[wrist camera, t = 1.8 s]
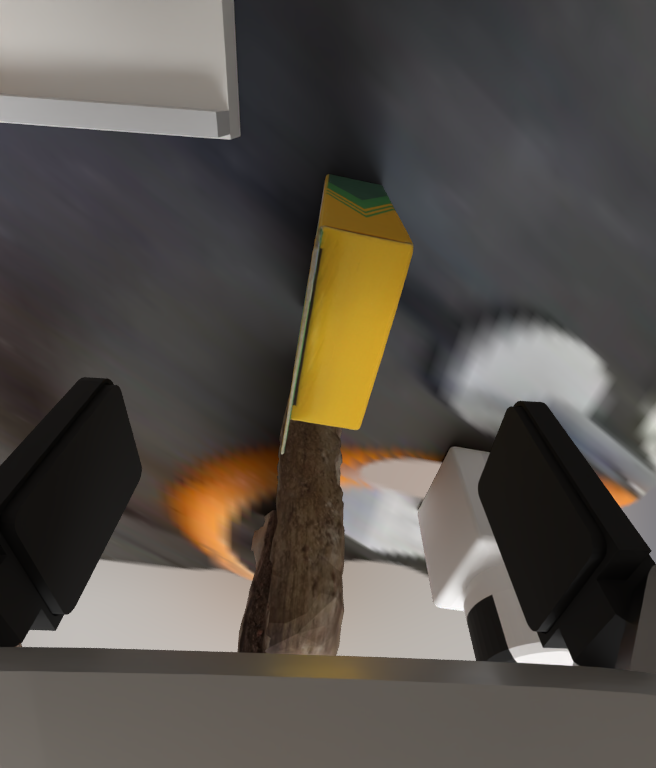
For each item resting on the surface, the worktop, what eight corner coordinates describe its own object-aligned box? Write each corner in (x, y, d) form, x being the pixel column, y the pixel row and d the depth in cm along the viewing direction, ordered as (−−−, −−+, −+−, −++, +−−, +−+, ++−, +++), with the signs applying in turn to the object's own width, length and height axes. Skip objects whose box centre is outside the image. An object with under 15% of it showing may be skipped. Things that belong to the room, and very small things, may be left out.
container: (505, 525, 34) (580, 722, 23) (415, 511, 33) (449, 707, 23) (552, 460, 29) (671, 665, 19) (450, 443, 29) (512, 645, 18)
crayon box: (354, 321, 24) (361, 471, 14) (303, 311, 23) (275, 457, 14) (387, 185, 20) (429, 266, 10) (326, 171, 19) (308, 242, 10)
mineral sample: (295, 355, 25) (250, 610, 13) (358, 370, 26) (375, 628, 13) (254, 521, 35) (206, 759, 22) (301, 529, 35) (279, 766, 23)
